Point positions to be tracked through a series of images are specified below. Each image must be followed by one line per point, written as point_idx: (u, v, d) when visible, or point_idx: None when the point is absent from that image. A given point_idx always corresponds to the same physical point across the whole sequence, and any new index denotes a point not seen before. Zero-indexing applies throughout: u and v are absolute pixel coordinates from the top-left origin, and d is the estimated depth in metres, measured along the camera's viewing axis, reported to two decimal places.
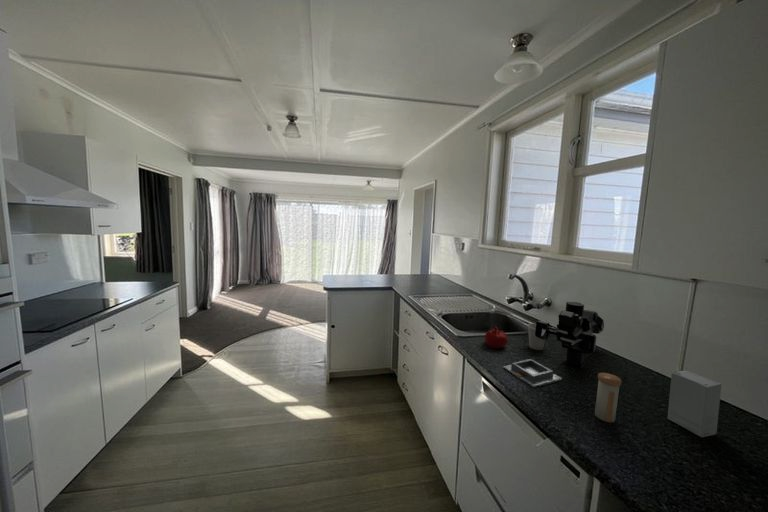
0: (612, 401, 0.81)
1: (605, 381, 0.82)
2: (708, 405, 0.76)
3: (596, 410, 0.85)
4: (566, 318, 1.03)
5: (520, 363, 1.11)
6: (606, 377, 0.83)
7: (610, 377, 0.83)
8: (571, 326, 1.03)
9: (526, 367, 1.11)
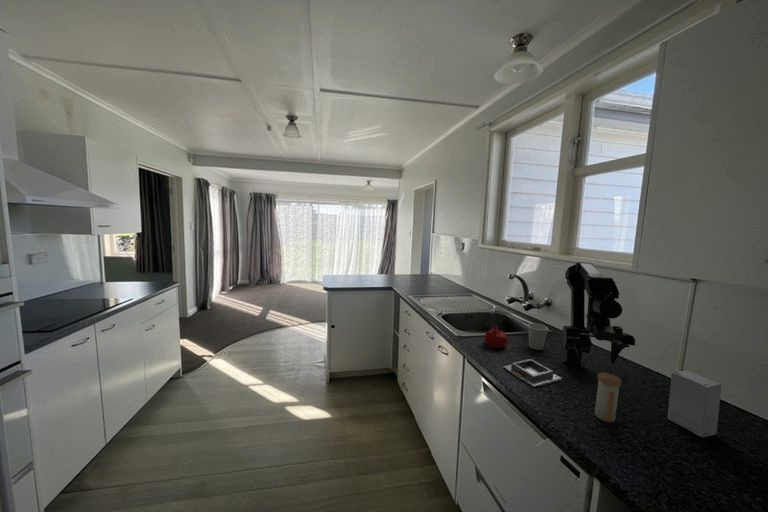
0: (612, 401, 0.81)
1: (605, 381, 0.82)
2: (708, 405, 0.76)
3: (596, 410, 0.85)
4: None
5: (520, 363, 1.11)
6: (606, 377, 0.83)
7: (610, 377, 0.83)
8: None
9: (526, 367, 1.11)
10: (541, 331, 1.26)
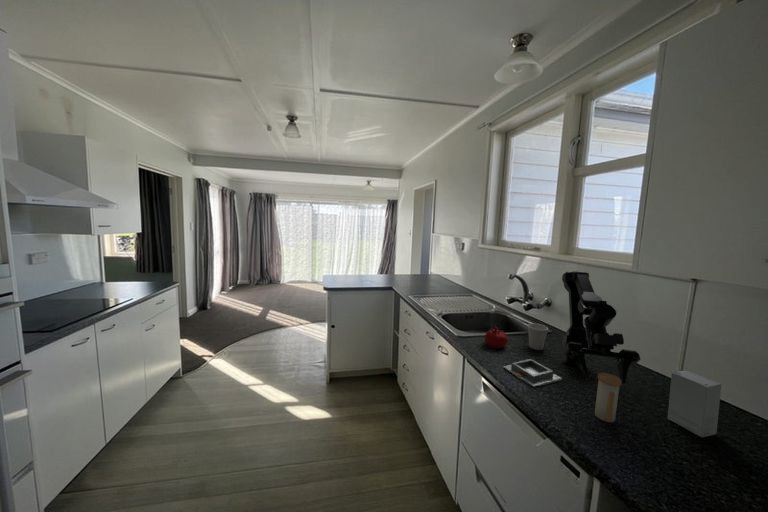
0: (612, 401, 0.81)
1: (605, 381, 0.82)
2: (708, 405, 0.76)
3: (596, 410, 0.85)
4: (607, 344, 0.86)
5: (520, 363, 1.11)
6: (606, 377, 0.83)
7: (610, 377, 0.83)
8: (609, 345, 0.89)
9: (526, 367, 1.11)
10: (541, 331, 1.26)
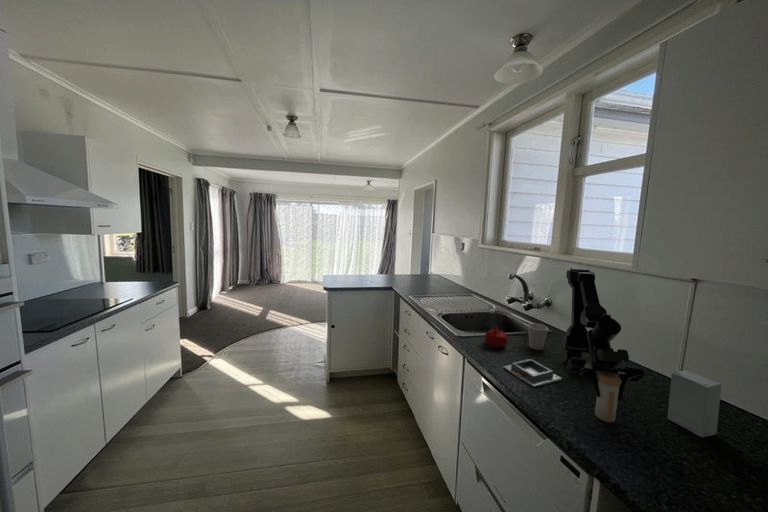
0: (612, 401, 0.81)
1: (605, 381, 0.82)
2: (708, 405, 0.76)
3: (596, 410, 0.85)
4: (612, 361, 0.83)
5: (520, 363, 1.11)
6: (606, 377, 0.83)
7: (610, 377, 0.83)
8: (613, 361, 0.85)
9: (526, 367, 1.11)
10: (541, 331, 1.26)
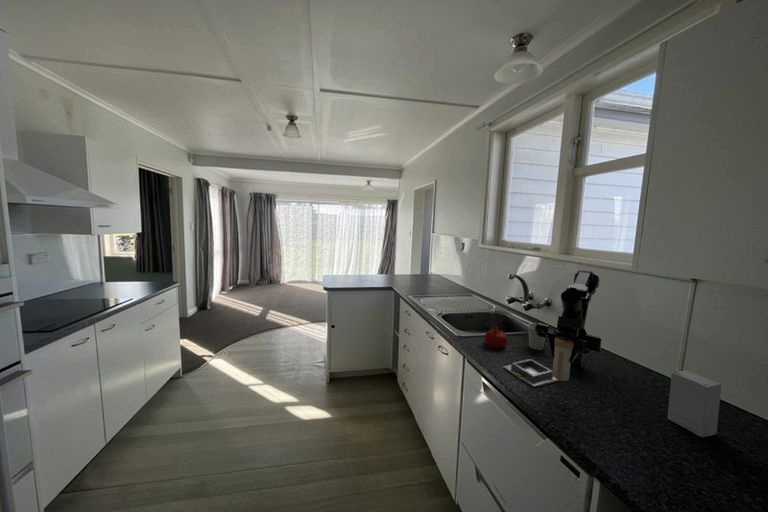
0: (561, 360, 0.92)
1: (556, 343, 0.93)
2: (708, 405, 0.76)
3: None
4: (566, 326, 0.93)
5: (520, 363, 1.11)
6: (560, 340, 0.94)
7: (565, 341, 0.93)
8: (572, 329, 0.94)
9: (526, 367, 1.11)
10: None
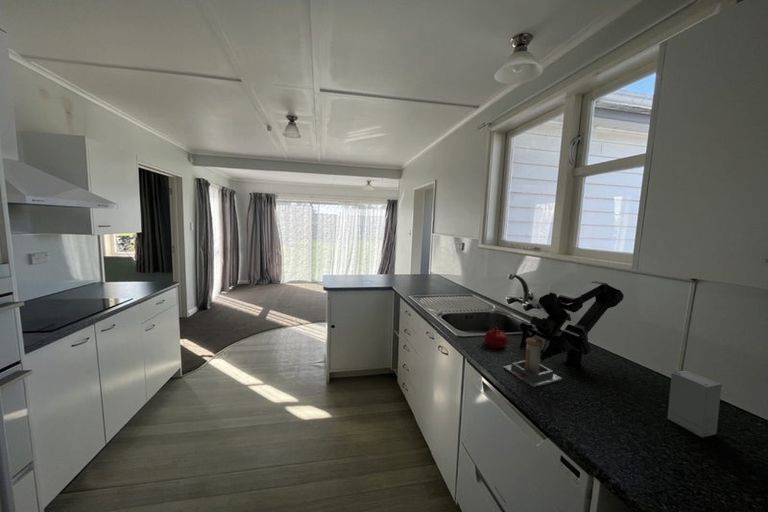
0: (527, 356, 1.06)
1: (526, 340, 1.07)
2: (708, 405, 0.76)
3: None
4: None
5: (520, 363, 1.11)
6: (531, 339, 1.07)
7: (535, 340, 1.06)
8: (545, 329, 1.05)
9: None
10: None
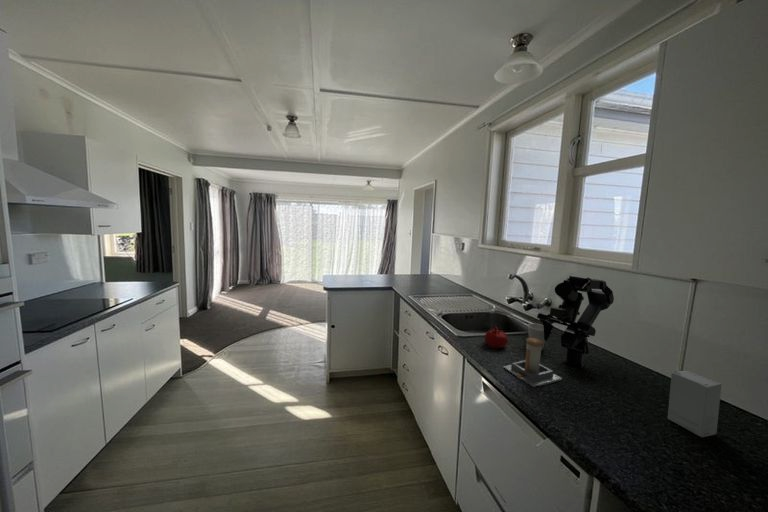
0: (527, 356, 1.06)
1: (526, 340, 1.07)
2: (708, 405, 0.76)
3: None
4: None
5: (520, 363, 1.11)
6: (531, 339, 1.07)
7: (535, 341, 1.06)
8: (565, 317, 1.05)
9: None
10: (541, 331, 1.26)
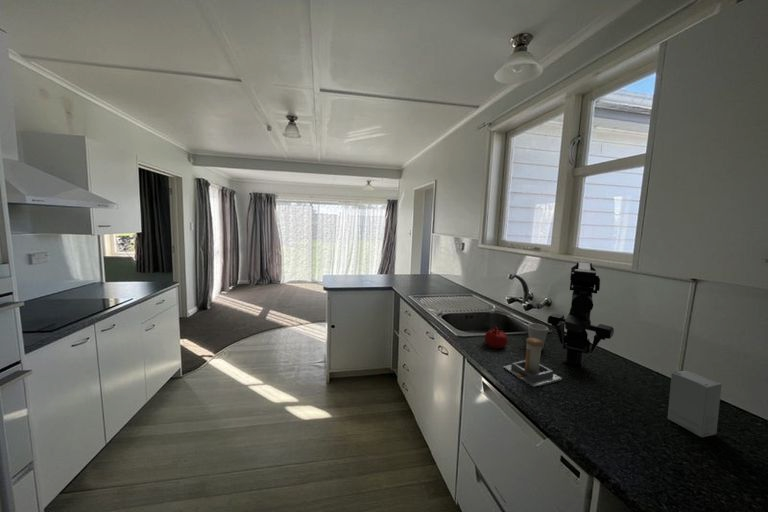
0: (527, 356, 1.06)
1: (526, 340, 1.07)
2: (708, 405, 0.76)
3: None
4: None
5: (520, 363, 1.11)
6: (531, 339, 1.07)
7: (535, 340, 1.06)
8: None
9: None
10: (541, 331, 1.26)
